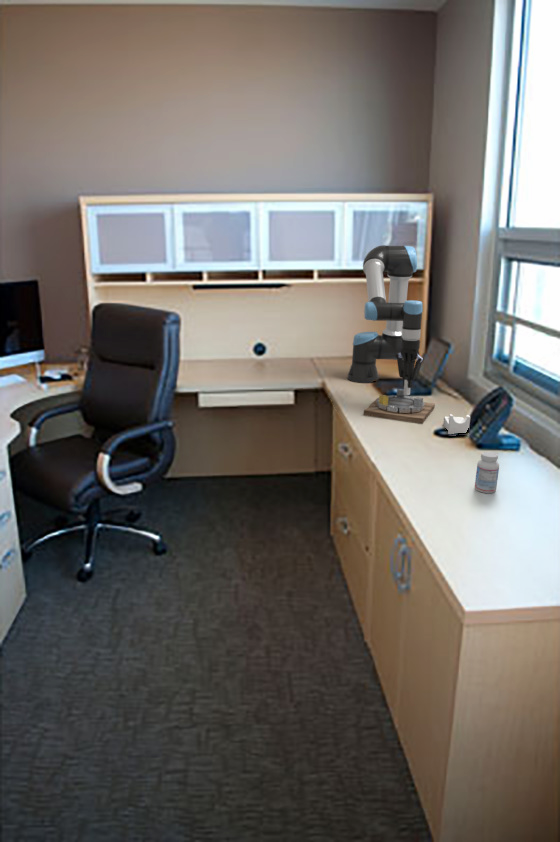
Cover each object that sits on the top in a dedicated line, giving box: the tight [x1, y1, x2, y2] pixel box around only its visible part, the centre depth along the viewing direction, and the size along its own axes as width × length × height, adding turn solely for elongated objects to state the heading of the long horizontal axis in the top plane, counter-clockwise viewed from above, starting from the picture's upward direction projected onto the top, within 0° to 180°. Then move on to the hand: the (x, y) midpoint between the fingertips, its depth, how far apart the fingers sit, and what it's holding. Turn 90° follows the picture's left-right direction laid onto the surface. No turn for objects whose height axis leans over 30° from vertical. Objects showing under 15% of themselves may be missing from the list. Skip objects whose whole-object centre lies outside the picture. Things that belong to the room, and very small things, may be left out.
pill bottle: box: [474, 450, 500, 494], centre depth 184 cm, size 6×6×11 cm
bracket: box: [442, 413, 471, 434], centre depth 239 cm, size 13×7×8 cm, turn 174°
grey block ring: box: [376, 388, 425, 413], centre depth 260 cm, size 19×19×5 cm
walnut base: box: [363, 397, 436, 424], centre depth 261 cm, size 24×24×4 cm
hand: (406, 394), depth 266 cm, fingers closed
